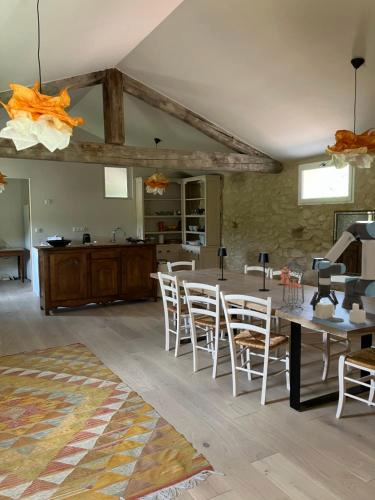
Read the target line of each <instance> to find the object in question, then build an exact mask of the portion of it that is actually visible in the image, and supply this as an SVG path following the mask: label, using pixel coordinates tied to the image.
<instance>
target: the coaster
mask: <svg viewBox="0 0 375 500" xmlns="http://www.w3.org/2000/svg"><path fill="white" fill-rule="evenodd" d="M327 321H328V322H333V323H344V321H345V320H344V318H341V317H335V316H333V317H330V318H328V319H327Z"/></svg>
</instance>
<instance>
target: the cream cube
mask: <svg viewBox="0 0 375 500" xmlns="http://www.w3.org/2000/svg"><path fill="white" fill-rule="evenodd" d="M316 306H317V316H315V315H313V314H314V311H313V310H312V317H314V318H317V319H320V320H326V319H327V320H328V318H330V317H334V315H333V305H332V303H327V302H324V301H323V302H318V303H317V305H316Z"/></svg>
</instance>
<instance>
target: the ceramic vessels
mask: <svg viewBox="0 0 375 500" xmlns="http://www.w3.org/2000/svg"><path fill="white" fill-rule="evenodd" d="M283 267H284V266H283ZM287 267H288V266H286V267H284V268H287ZM282 270H283V269H282ZM282 270H281V269H280V272H281V273H280V276H279V277H280V278H281V279H280V281H279V283H280V285H285V288H287V289H289V279H288V280H286V283H285V282H284V273H283V272H284V271H285V270H286V269H285V270H283V271H282ZM287 270H288V269H287ZM289 272H291V271H289ZM289 272H288V274H285V278H288V277H289V278H290V279H291V273H289ZM285 273H287V272H286V271H285ZM286 275H288V276H287V277H286ZM293 280H296V279H295V278H293ZM294 284H295V290H297V282H296V281H292V287H291V283H290V289H292V290H293V289H294ZM286 285H287V286H286ZM299 289H304V286H303V285H300V284H298V290H299Z"/></svg>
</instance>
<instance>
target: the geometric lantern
mask: <svg viewBox="0 0 375 500" xmlns="http://www.w3.org/2000/svg"><path fill="white" fill-rule="evenodd" d="M284 267H287V268H284ZM282 269H283V270H285V269H286V270H285V271H286V272H287V273H285V271H284V272H283V273H284V282H285V283H286V280H288V279H289V284H288V285H289V288H288V292H290V291H291V290H290V289H291V288H290V284H291V287H292V283H293V281H295V282H296V283H297V289H295V284H294V290H293V291H294V292H293V297H291V298H290V296H288V299H285V293H286V292H285V291H286V286H283V289H282V290H283V291H282V292H283V293H282V302H283V303H284V304H286V305H285V307H287V308H290V309H293V307H299V308H301V306H302V305H303V304H305V296H304V295H305V293H304V288H301V299H302V300H300V299H299V289H298V285H299V284H298V281H299V280H300V282H301V283H300V284H301V285H300V286H303V284H304V279H303V276H302V275H303V274H304V273H305V272H306V271H308V269H307V268H306V267H304V266H303V265H301V264H299V263H298V262H296V261H292V262H290V263H288V264H286V265H284V266H282V267H280V271H281V270H282ZM287 269H288V270H287ZM283 270H282V271H283ZM289 271H290V272H289ZM294 271H295V272H294ZM297 271H298V272H299V273H298V272H297ZM288 272H289V274H291V275H292V276H293V277H290V278H289V277H288V278H285V274H288ZM297 275H298V276H297ZM287 276H288V275H286V277H287ZM296 276H297V277H296ZM299 277H300V278H299ZM294 279H295V280H294ZM295 293H296V295H295ZM296 296H297V297H296ZM295 297H296V298H295ZM290 301H291V302H290ZM294 301H296V302H294ZM298 302H300V303H298Z"/></svg>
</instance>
